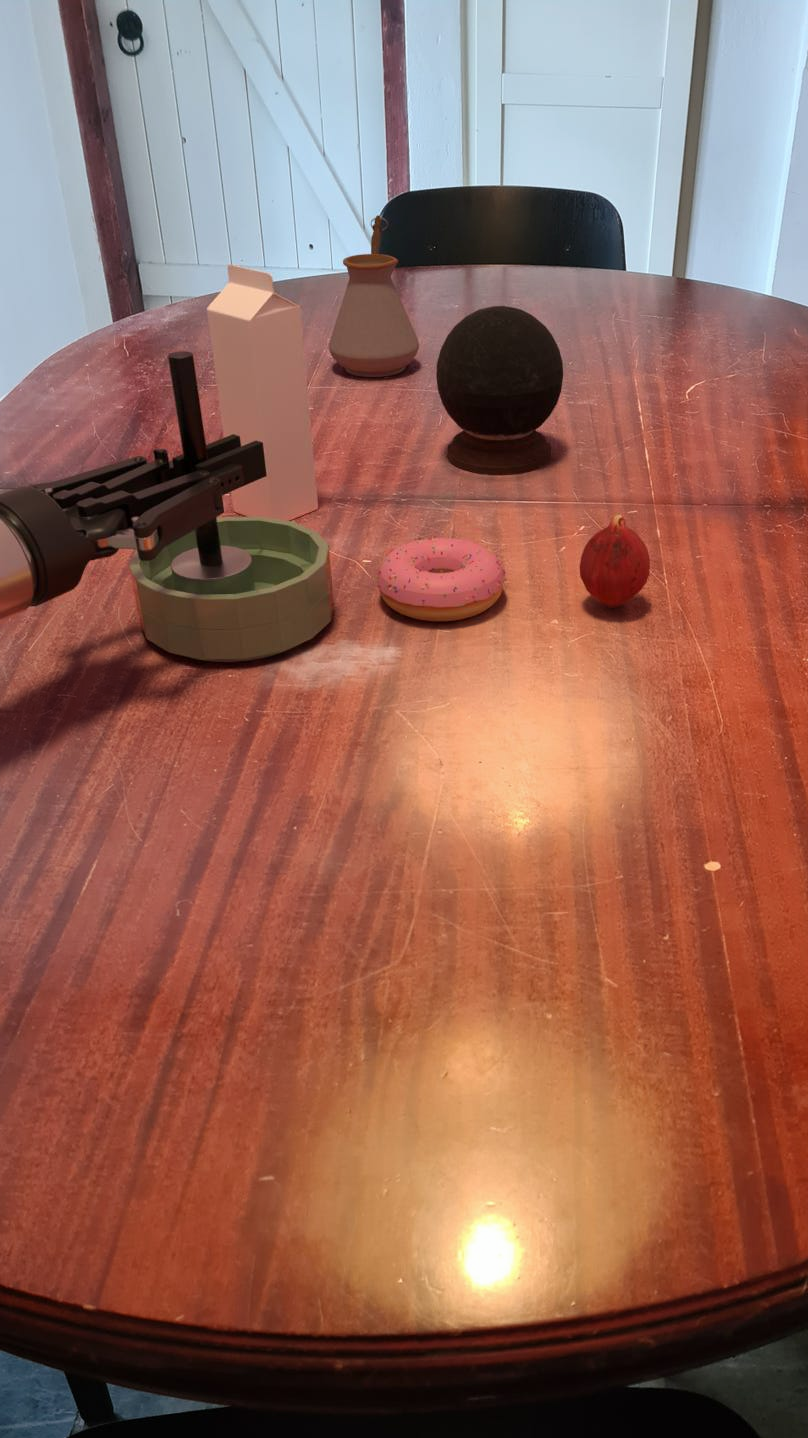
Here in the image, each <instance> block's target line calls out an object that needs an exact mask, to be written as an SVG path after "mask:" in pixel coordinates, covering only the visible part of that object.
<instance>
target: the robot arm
mask: <svg viewBox="0 0 808 1438" xmlns="http://www.w3.org/2000/svg"><path fill="white" fill-rule="evenodd" d="M206 448H207V455H208V460H206V461H204V462H201V463H199V464H197V465H195V467H196V472H193V473H190V474H187V475H186V470H185V463H184V457H183V453H181V454H179V455H177V456H174V457H172V460H170V459H169V452H168V450H167V449H165V448H156V449H153V450H152V451H153V456H154V457H153V458H154V460H151V461H149V462H148V460H147V457H145V456H142V455H137V456H135V457H134V456H133V457H129V458H128V459H123V460H120V461H117V462H114V463H110V464H108V465H104V466H100V467H98V468H95V469H94V468H93V469H91V470H88V471H84V472H80V473H77V474H73V475H70V476H68V477H65V478H61V479H58V480H54V481H49V482H43V483H37V484H30V485H26V486H18V487H16V488H13V489H11V490H7V491H5V492H2V493H0V622H3V621H5V620H8V619H9V618H12V617H14V616H16V615H19V614H21V613H23V612H25V611H27V610H28V608H30V607H38V606H40V605H42V604H46V603H47V602H49V601H51V600H53V599H56V598H58V597H60V596H63V595H65V594H67V593H70V592H71V591H73V590H74V589H75V588H76V587H78V585H79V584H80V582H81V581H82V577H83V575H84V572H85V570H86V569H87V568H86V567H87V565H88V564H89V563H90V562H91V561H92V562H93V561H96V560H100V559H105V558H106V559H107V558H109V557H113V556H115V555H116V554H117V553H118V552H119V550H121V549H122V550H136V549H137V552H138V557H139V559H140V560H142V561H149V560H153V559H155V558H156V557H157V556H158V554H159V553H160V552H161V551H162V549H163V548H164V547H166V546H168V545H169V544H171V543H173V542H175V541H176V540H178V539H180V538H181V537H183V536H185V535H187V534H188V533H190V532H192V531H194V530H195V529H197V528H199V527H200V526H202V525H204V524H206V523H207V522H209V521H211V520H213V519H214V518H219V516H222V515H223V514H224V513H225V506H224V499H223V498H224V497H223V496H225V495H227V494H229V493H231V491H233V490H236V489H238V488H240V487H243V486H245V485H247V484H250V483H252V482H254V481H257V480H259V479H261V478H263V477H266V476H267V474H266V465H265V457H264V448H263V442H260V441H253V442H251V443H248V444H246V445H244V446H241V441H240V436H238V435H234V434H233V435H230V436H227V437H225V438H224V437H222V438H220V439H217V440H215V441H212V442H210V443H208V444H207V443H206Z"/></svg>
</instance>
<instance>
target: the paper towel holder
mask: <svg viewBox="0 0 808 1438" xmlns="http://www.w3.org/2000/svg"><path fill="white" fill-rule="evenodd" d="M194 358H195V357H194V353H193V352H191V351H186V350H181V351H174V352H170V353H169V354H167V360H168V367H169V372H170V380H171V385H172V392H173V398H174V406H175V411H176V417H177V424H178V430H179V437H180V438H179V439H180V443H181V450H182V454H183V457H184V463H185V470H186V475H187V474H190V473H193V472H196V467H195V465H197V464H199V463H201V462H204V461H206V460H208V455H207V448H206V445H207V442H206V435H205V427H204V421H203V414H202V407H201V401H200V393H199V385H198V380H197V372H196V365H195V360H194ZM217 518H218V517H216V518H214V519H213V520H211V521H209V522H207V523H206V524H204V525H202V526H200V527H199V528H197V529H195V534H196V540H197V547H198V548H195V549H191V550H188V551H186V552H183V553H181V554H180V555H178V556H177V557H176V558H174V560H173V561H172V563H171V570H172V576H173V582H174V587H175V590H176V591H181V592H187V593H192V594H197V595H200V594H238V593H244V592H249V591H255V590H256V589H255V582H254V574H253V566H252V558H251V556H250V554H249V553H248V552H246V551H245V550H243V549H240V548H237V547H232V546H222V545H220V538H219V531H218V524H217Z"/></svg>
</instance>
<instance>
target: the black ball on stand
mask: <svg viewBox="0 0 808 1438" xmlns="http://www.w3.org/2000/svg"><path fill="white" fill-rule="evenodd" d="M435 372H436V374H435V376H436V377H435V379H436V385H437V391H438V395H439V399H440V400H441V403H442V406H443V408H444V410H445V411H446V413H447V415H448V416H449V418H451V420H452V421H453V422H454V423H455V425H457V426H458V427H459V428H460V429H461V430H462V431H459V432H458V433H457V434H455V436H453V438H452V441H450V443H449V444H448V446H447V449H446V450H447V451H446V453H447V460H448V461H449V463H450V464H452V465H453V466H454V467H456V468H459V469H461V470H464V471H467V472H471V473H476V474H481V475H497V476H498V475H499V476H503V475H516V474H523V473H527V472H528V473H529V472H531V471H535V470H538V469H540V468H542V467H545V465H547V464H548V463H549V462H550V461H551V459H552V450H553V449H552V446H551V444H550V443H549V442H548V440H547V438H546V436H545V435H544V434H543V433H541V432H540V431H538V429H539V428H540V427H542V425H544V424H545V422H546V421H547V420H548V419H549V417H550V416H551V415H552V413H553V411H554V410H555V409H556V406H557V405H558V403H559V399H560V396H561V393H562V388H563V380H564V362H563V359H562V354H561V351H560V348H559V346H558V343H557V342H556V339H555V338H554V335H553V334H552V332H550V330H549V329H548V327H547V326H546V325H545V324H544V323H542V321H540V320H539V319H537V317H535V316H534V315H533V314H531V313H529V312H527V311H525V310H523V309H521V308H517V307H512V306H507V305H492V306H488V307H483V308H479V309H477V310H475V311H474V312H471V313H470V314H468V315H465V317H463V319H461V320H460V321H459V322H458V323H456V324H455V325H454V326H453V328H452V329H451V330H450V332H449V333H448V334H447V336H446V338H445V339H444V342H443V344H442V345H441V347H440V350H439V354H438V357H437V362H436V371H435Z"/></svg>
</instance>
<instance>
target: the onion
mask: <svg viewBox="0 0 808 1438" xmlns="http://www.w3.org/2000/svg"><path fill="white" fill-rule="evenodd" d="M626 523H627V517H624V515H622V514H616V515H614V516H612V519H611V521H610V522H609V525H608V526H606V527H605V528H603V529H601V530H599V531H598V532H596V533H595V534H593V536H591V537H590V539H589V540H588V541H587V543H586V544H585V546H584V548H583V551H582V554H581V557H580V562H579V576H580V579H581V581H582V582H583V585H584V588H585V590H586V591H587V593H589V595H590V596H591V597H593V598H594V599H595V600H597V601H598V602H599V603H601V604H602V605H604V606H606V607H608V608H610V609H611V608H614V609H615V608H617V607H619V606H620V605H622V604H624V603H626V602H628V601H630V600H631V599H633V598H634V597H635V596H636V595H637V594H639V593H640V592H641V591H642V589H643V588H644V587H645V585H646V584H647V582H648V580H649V576H650V571H651V570H650V569H651V558H650V554H649V550H648V547H647V546H646V543H645V542H644V540H642V539H643V538H641V537H640V535H638V533H636V532H635V531H634V530H633V529H631V528H630V527H628V526H627V524H626Z"/></svg>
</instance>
